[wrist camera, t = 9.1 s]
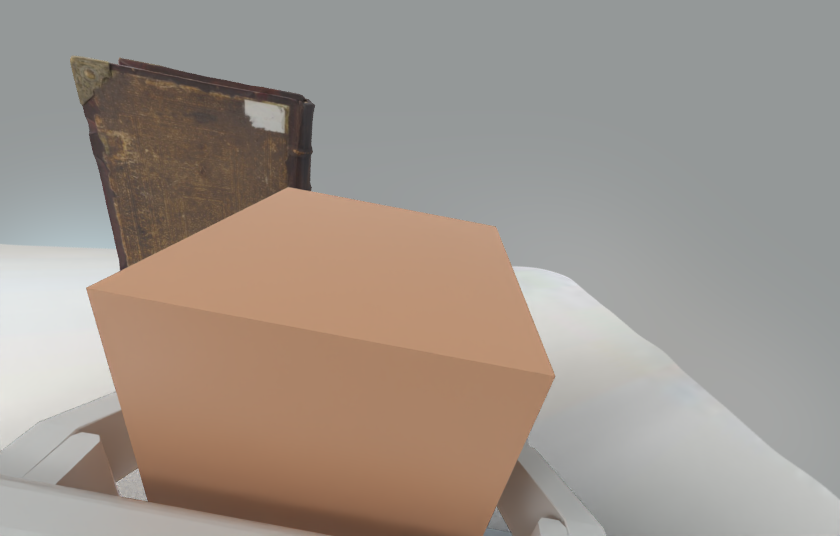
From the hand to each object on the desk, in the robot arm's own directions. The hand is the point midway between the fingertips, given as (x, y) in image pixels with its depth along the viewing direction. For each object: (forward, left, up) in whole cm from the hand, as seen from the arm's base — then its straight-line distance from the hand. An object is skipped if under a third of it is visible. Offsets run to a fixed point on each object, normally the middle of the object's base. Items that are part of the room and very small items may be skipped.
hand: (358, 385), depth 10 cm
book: (-19, +23, -18) cm, 35 cm away
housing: (0, -1, -6) cm, 6 cm away
